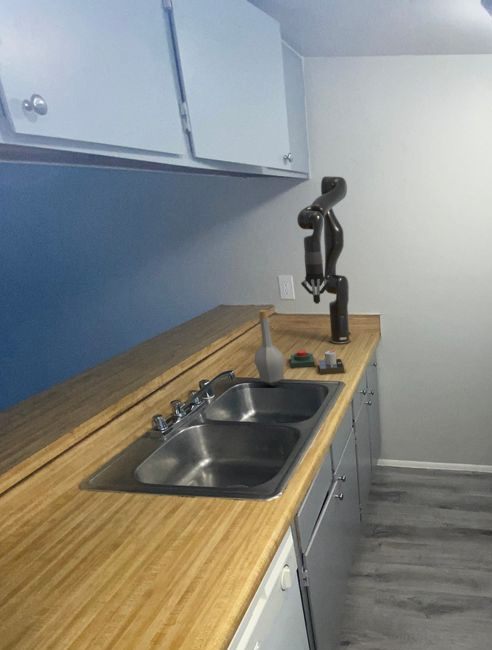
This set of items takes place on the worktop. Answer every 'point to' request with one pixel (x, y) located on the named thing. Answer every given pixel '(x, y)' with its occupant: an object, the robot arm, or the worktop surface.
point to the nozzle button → (301, 353)
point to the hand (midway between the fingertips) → (316, 303)
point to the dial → (330, 357)
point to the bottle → (268, 355)
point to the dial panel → (331, 367)
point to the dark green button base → (302, 361)
